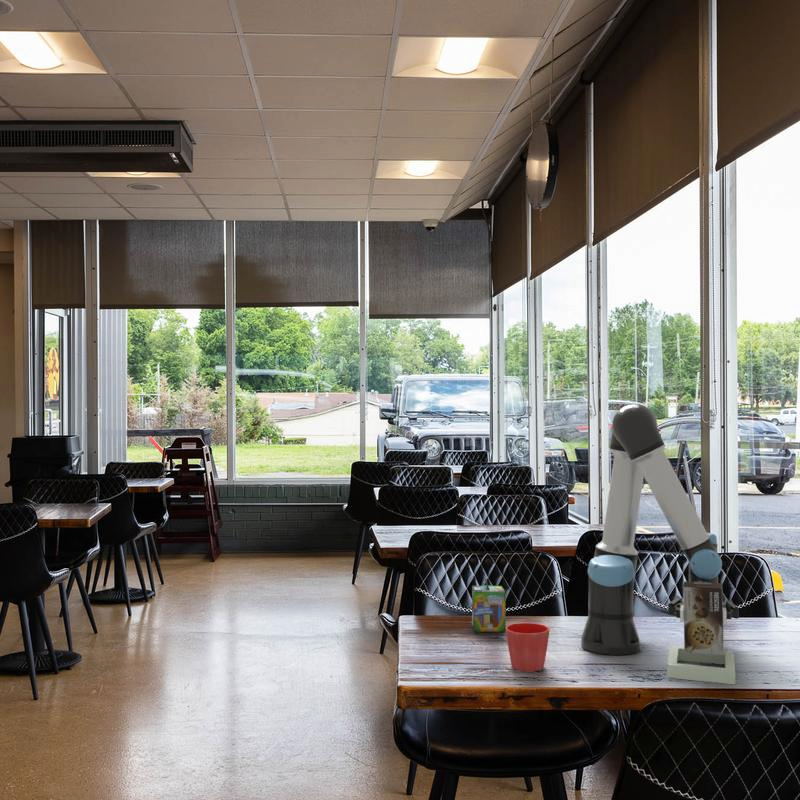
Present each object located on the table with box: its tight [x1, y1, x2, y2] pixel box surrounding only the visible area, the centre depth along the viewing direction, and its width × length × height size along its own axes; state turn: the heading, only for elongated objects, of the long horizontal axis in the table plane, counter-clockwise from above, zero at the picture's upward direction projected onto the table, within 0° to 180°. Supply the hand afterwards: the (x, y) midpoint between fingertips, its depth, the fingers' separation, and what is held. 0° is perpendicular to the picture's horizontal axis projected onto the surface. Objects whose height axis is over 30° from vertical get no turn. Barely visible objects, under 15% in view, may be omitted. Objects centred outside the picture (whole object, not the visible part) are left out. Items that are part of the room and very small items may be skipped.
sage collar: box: [666, 645, 736, 685], centre depth 217 cm, size 15×18×3 cm
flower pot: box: [505, 622, 551, 673], centre depth 219 cm, size 11×11×10 cm
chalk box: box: [471, 575, 507, 633], centre depth 257 cm, size 9×9×15 cm
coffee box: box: [682, 581, 725, 655], centre depth 217 cm, size 9×6×16 cm
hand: (703, 617), depth 213 cm, fingers closed on coffee box, 9 cm apart
